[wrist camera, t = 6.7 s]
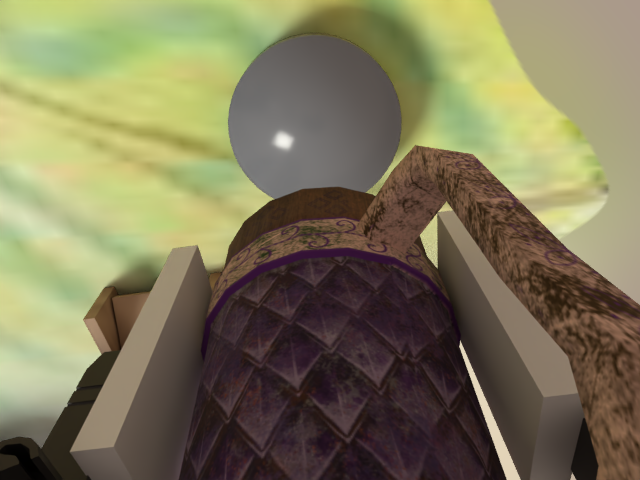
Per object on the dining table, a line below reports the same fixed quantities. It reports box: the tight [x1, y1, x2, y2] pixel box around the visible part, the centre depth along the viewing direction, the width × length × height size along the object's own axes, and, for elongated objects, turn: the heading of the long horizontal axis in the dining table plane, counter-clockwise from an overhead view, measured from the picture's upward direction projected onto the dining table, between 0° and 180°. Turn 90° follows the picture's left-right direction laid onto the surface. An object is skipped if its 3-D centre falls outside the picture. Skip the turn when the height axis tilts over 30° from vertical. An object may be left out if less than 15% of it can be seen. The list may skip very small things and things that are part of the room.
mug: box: [179, 145, 640, 480], centre depth 9 cm, size 10×7×12 cm
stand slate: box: [228, 33, 401, 199], centre depth 26 cm, size 10×10×2 cm
